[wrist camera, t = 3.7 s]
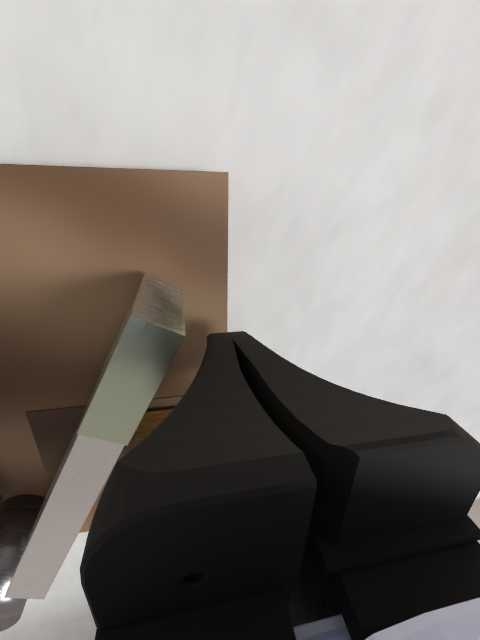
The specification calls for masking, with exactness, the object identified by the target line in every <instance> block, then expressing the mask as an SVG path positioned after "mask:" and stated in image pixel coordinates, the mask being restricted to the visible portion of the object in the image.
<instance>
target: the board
mask: <svg viewBox="0 0 480 640" xmlns="http://www.w3.org/2000/svg"><path fill="white" fill-rule="evenodd" d="M145 272H146V273H148V274H151V275H153V276H155V277H157V278H159V279H162V280H164V281H166V282H168V283H171V284H173V285H175V286H177V287H179V288H182V296H183V310H184V325H185V338H184V340H183V342H182V343H181V345H180V347H179V349H178V351H177V353H176V355H175V357H174V359H173V361H172V362H171V364H170V366H169V368H168V370H167V372H166V374H165V376H164V378H163V379H162V381H161V383H160V385H159V387H158V389H157V391H156V393H155V395H154V396H153V398H152V400H151V402H150V404H149V406H148V408H147V410H146V412H150V411H159V410H168V409H174V408H175V406H176V405H177V404H178V402H179V401H180V400H181V398H182V397H183V396H184V394H185V393H186V391H187V390H188V388H189V387H190V385H191V383H192V381H193V380H194V378H195V376H196V374H197V372H198V370H199V367H200V365H201V363H202V360H203V357H204V354H205V351H206V347H207V336H208V335H209V334H210V333H225V332H227V273H228V172H206V171H179V170H152V169H124V168H97V167H70V166H43V165H16V164H0V491H1V493H2V495H3V498H2V500H1V502H0V504H1V503H2V502H3V501H5V500H6V499H8V498H11V497H13V496H17V495H25V494H30V495H38V496H42V497H46V494H47V492H48V490H49V488H50V486H51V483H52V481H53V479H54V477H55V475H56V472H57V470H58V468H59V466H60V464H61V461H62V459H63V457H64V455H65V453H66V450H67V448H68V446H69V444H70V442H71V439H72V437H73V435H74V433H75V430H76V428H77V426H78V424H79V422H80V419H81V417H82V415H83V413H84V411H85V408H86V406H87V404H88V402H89V400H90V397H91V395H92V393H93V391H94V389H95V386H96V384H97V381H98V379H99V376H100V374H101V371H102V369H103V366H104V363H105V361H106V359H107V356H108V354H109V352H110V350H111V347H112V345H113V343H114V341H115V339H116V336H117V334H118V332H119V330H120V327H121V325H122V323H123V321H124V319H125V316H126V314H127V312H128V310H129V308H130V305H131V303H132V301H133V299H134V296H135V294H136V292H137V290H138V288H139V285H140V283H141V281H142V279H143V277H144V274H145ZM136 430H137V429H136ZM136 430H135V432H134V434H133V436H132V438H131V440H130V442H129V444H128V446H126V445H125V446H124V447H123V449H122V451H121V453H120V455H119V457H118V459H117V461H118V460H119V459H121V458H122V457H123V456H125V455H126V454H127V453H128V452H130V451H131V450H132V449H133V448H134V443H135V436H136ZM117 461H116V462H117ZM115 464H116V463H115ZM114 466H115V465H114ZM113 468H114V467H113ZM113 468H112V470H113ZM112 470H111V472H112ZM111 472H110V474H111ZM110 474H109V476H110ZM109 476H108V478H109ZM108 478H107V480H106V482H105V484H104V486H103V487H102V489H101V491H100V493H99V495H98V497H97V499H96V501H95V503H94V505H93V507H92V508H91V510H90V512H89V514H88V516H87V518H86V520H85V522H84V524H83V526H82V527H81V529H80V531H79V533H81V532H86V531H89V529H90V525H91V522H92V519H93V516H94V513H95V510H96V508H97V505H98V502H99V500H100V497H101V495H102V492H103V490H104V487H105V485H106V483H107V481H108Z"/></svg>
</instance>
